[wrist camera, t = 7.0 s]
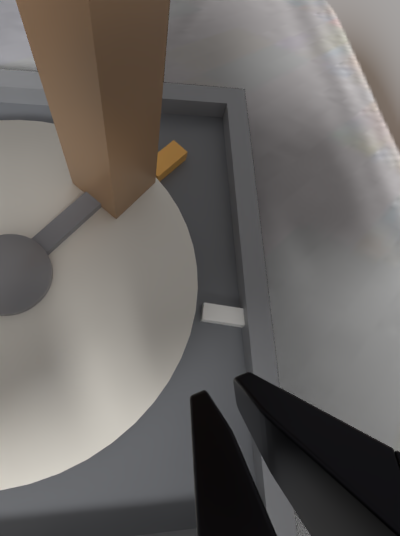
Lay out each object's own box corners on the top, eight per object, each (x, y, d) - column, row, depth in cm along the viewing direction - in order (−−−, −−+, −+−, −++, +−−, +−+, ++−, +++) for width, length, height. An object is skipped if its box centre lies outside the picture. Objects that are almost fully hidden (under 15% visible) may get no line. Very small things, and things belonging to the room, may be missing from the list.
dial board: (279, 539, 14) (300, 561, 12) (-366, 624, 11) (-470, 671, 9) (235, 116, 20) (244, 88, 19) (-180, 88, 17) (-219, 50, 15)
